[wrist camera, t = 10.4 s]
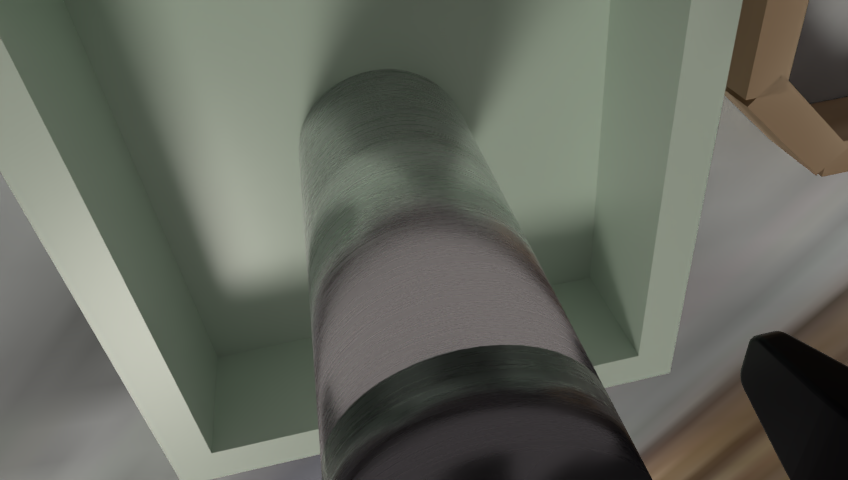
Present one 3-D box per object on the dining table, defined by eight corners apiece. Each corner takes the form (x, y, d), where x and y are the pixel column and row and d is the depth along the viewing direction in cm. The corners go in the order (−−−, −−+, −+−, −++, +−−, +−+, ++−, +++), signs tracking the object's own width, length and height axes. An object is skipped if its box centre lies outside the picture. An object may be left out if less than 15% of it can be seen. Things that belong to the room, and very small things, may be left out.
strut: (460, 55, 15) (682, 415, 7) (471, 203, 17) (643, 594, 9) (280, 86, 14) (294, 503, 6) (317, 233, 17) (360, 665, 9)
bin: (655, -215, 13) (781, -201, 10) (608, 278, 21) (669, 373, 18) (-33, -118, 12) (-138, -66, 9) (194, 367, 20) (183, 485, 17)
